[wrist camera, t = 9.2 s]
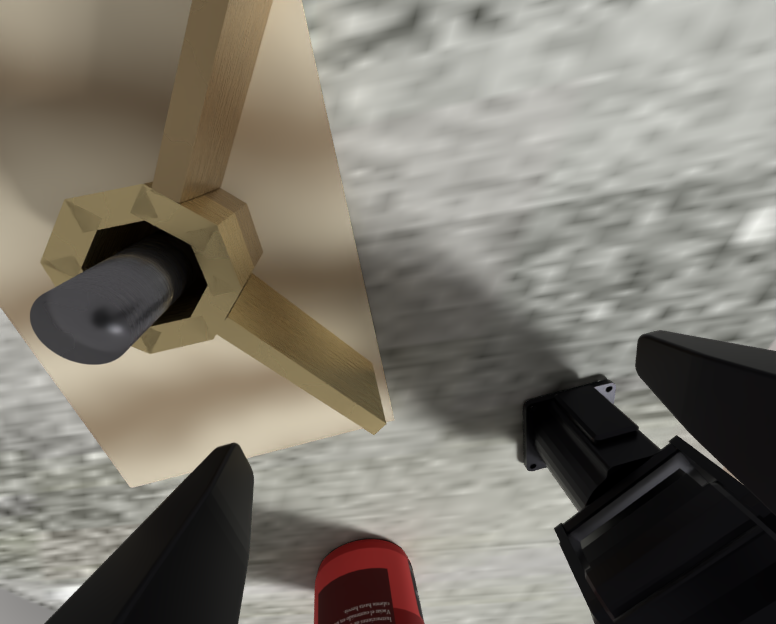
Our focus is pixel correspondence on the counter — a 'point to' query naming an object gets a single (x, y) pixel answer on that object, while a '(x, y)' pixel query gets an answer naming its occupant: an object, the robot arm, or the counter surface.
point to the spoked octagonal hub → (214, 226)
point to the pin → (114, 300)
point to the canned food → (366, 586)
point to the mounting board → (137, 166)
